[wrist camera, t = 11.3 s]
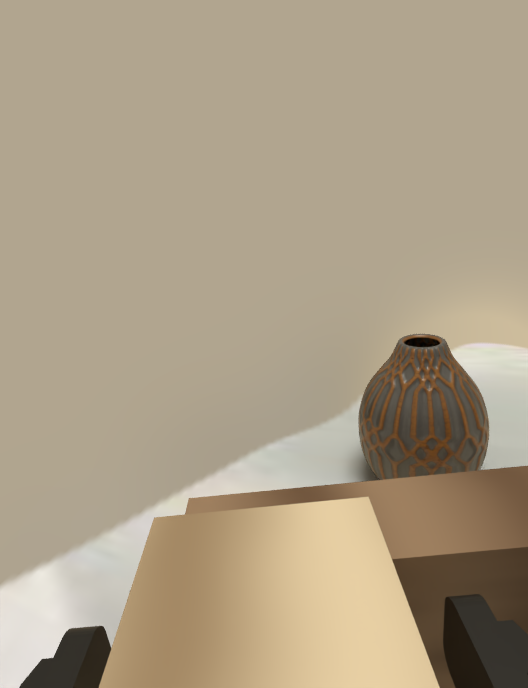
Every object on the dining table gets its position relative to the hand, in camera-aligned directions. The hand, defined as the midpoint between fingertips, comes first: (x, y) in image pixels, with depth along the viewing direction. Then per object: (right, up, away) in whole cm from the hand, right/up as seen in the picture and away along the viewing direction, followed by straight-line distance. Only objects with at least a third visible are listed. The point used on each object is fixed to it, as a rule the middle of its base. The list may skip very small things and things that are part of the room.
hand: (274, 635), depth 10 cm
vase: (+9, -1, +15) cm, 18 cm away
